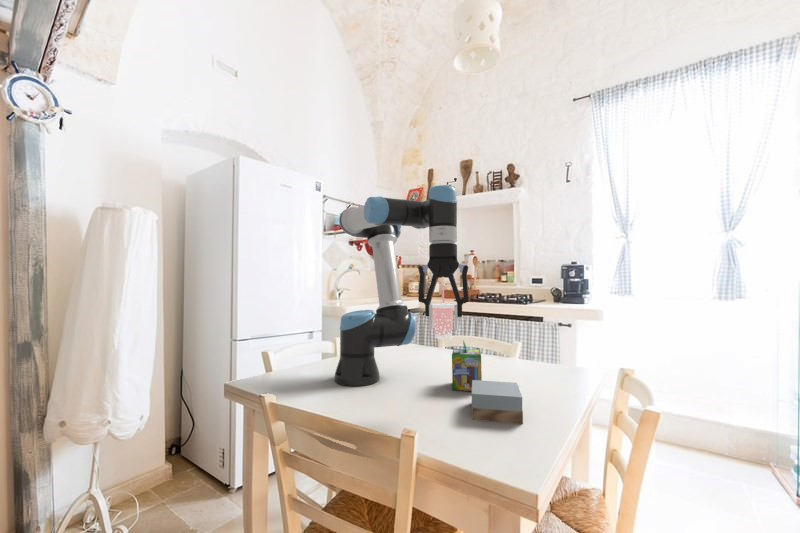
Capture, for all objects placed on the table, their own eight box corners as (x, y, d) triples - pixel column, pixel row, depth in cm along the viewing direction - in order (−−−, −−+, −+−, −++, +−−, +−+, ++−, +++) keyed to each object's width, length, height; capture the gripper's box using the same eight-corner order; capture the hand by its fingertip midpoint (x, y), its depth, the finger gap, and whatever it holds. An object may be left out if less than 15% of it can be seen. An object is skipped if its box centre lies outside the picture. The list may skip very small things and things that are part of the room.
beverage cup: (442, 335, 101) (441, 285, 101) (459, 337, 96) (459, 285, 97) (427, 337, 96) (427, 285, 97) (445, 340, 92) (445, 286, 92)
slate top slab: (471, 407, 89) (471, 393, 89) (472, 392, 101) (472, 379, 101) (522, 411, 86) (522, 397, 87) (516, 395, 98) (516, 382, 98)
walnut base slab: (472, 421, 89) (472, 407, 89) (473, 404, 101) (473, 392, 101) (522, 426, 86) (522, 411, 86) (517, 408, 98) (517, 395, 98)
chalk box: (482, 392, 109) (481, 344, 110) (451, 390, 111) (451, 343, 112) (481, 384, 118) (481, 339, 119) (453, 382, 120) (453, 338, 121)
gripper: (405, 243, 96) (406, 329, 95) (478, 240, 91) (479, 331, 90) (411, 245, 103) (412, 326, 102) (479, 243, 99) (480, 328, 98)
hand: (443, 328), depth 96 cm, fingers closed on beverage cup, 6 cm apart
